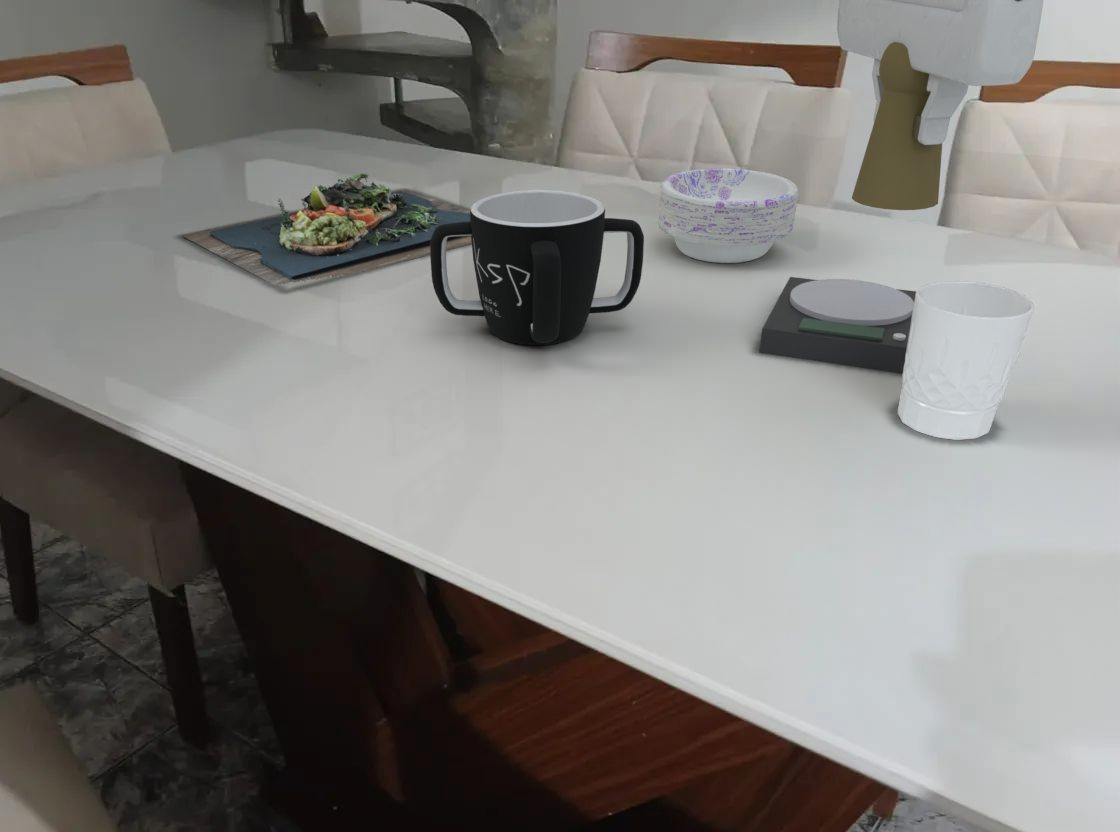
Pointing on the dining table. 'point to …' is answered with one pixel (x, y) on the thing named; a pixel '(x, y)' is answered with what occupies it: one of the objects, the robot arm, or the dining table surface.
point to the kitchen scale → (841, 323)
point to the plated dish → (336, 233)
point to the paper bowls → (726, 212)
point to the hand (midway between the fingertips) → (906, 134)
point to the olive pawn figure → (899, 142)
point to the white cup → (960, 356)
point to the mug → (537, 263)
